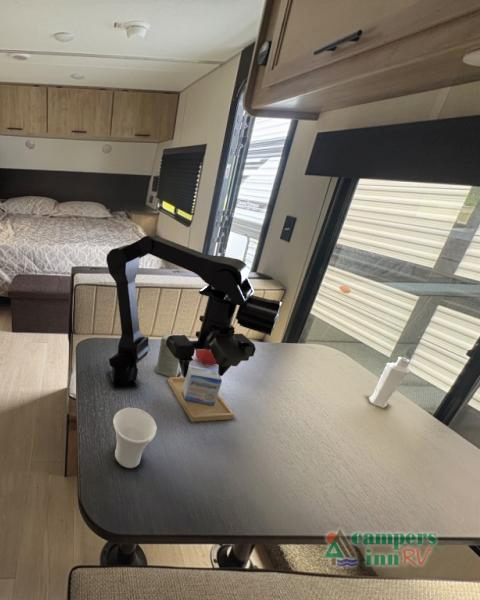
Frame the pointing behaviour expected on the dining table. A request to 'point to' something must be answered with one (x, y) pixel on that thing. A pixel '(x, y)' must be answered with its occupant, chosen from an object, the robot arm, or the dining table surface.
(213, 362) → the tomato
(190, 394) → the medicine box
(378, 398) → the perfume bottle
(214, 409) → the holder
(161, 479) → the dining table surface
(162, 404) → the dining table surface
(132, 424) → the cup
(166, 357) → the cosmetic box
